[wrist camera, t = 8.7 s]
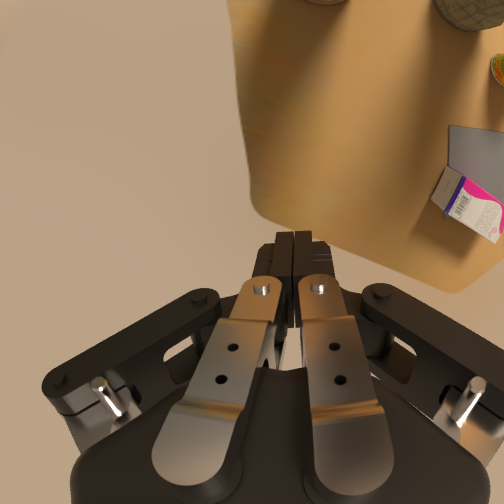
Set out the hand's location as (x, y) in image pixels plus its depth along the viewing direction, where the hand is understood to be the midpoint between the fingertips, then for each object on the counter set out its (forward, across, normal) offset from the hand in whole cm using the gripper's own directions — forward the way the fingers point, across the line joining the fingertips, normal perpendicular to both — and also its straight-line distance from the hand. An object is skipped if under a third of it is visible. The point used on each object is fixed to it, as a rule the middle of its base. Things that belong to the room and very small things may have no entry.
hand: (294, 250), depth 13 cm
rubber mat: (+29, -29, +4) cm, 41 cm away
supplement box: (+26, -20, +5) cm, 33 cm away
